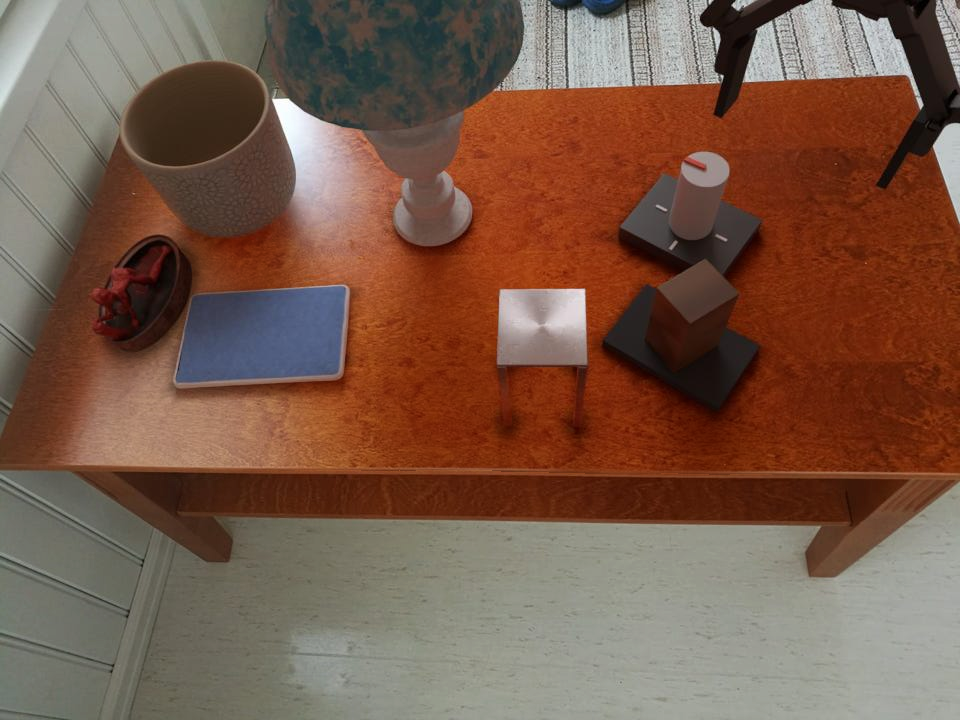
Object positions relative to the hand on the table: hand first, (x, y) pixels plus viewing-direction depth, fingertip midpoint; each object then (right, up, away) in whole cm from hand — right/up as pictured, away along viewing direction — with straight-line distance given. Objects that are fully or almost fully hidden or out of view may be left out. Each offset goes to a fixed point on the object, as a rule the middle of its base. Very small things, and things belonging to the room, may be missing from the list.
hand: (803, 140), depth 58 cm
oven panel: (-1, -2, +29) cm, 29 cm away
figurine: (-65, -10, +31) cm, 73 cm away
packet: (-4, -15, +21) cm, 26 cm away
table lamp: (-31, 0, +34) cm, 46 cm away
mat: (-4, -16, +22) cm, 28 cm away
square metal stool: (-19, -21, +21) cm, 35 cm away
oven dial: (-1, -1, +27) cm, 27 cm away
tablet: (-50, -15, +27) cm, 59 cm away
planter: (-56, +3, +37) cm, 67 cm away
